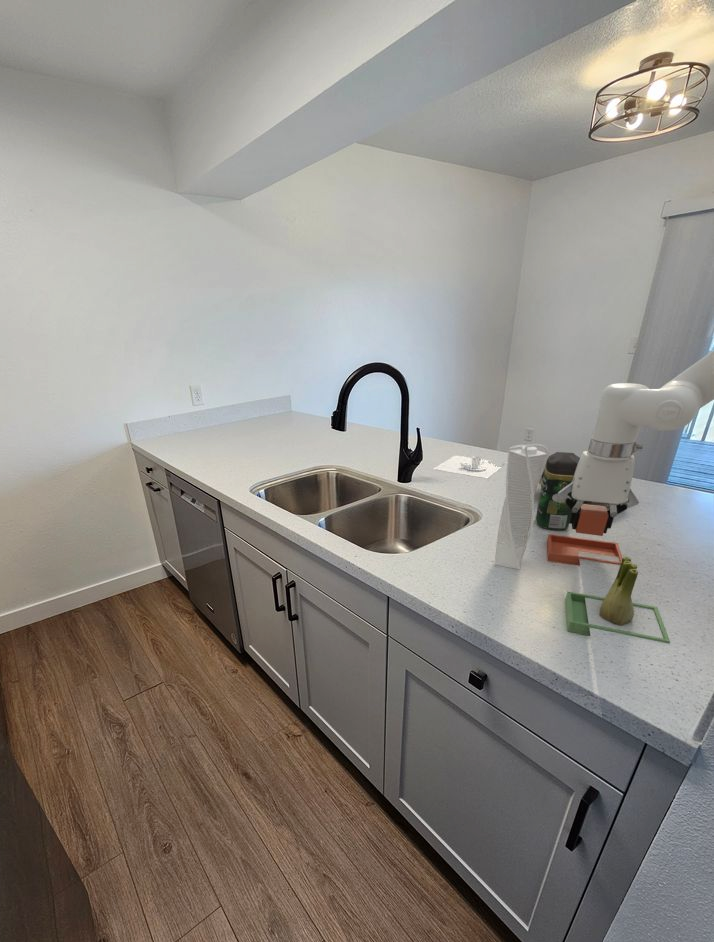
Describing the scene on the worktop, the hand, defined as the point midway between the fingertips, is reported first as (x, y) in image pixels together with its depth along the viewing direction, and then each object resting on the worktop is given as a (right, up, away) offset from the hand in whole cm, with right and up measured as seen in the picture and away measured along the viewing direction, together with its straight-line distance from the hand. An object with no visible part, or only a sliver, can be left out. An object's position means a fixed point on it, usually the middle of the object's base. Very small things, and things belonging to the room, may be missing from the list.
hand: (588, 528), depth 96 cm
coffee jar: (+2, +2, +19) cm, 19 cm away
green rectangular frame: (-8, -18, -18) cm, 26 cm away
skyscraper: (-17, -8, +3) cm, 19 cm away
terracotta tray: (0, -6, +3) cm, 7 cm away
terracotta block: (0, 0, 0) cm, 0 cm away
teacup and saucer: (-3, +25, +64) cm, 69 cm away
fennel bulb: (-7, -17, -18) cm, 26 cm away
